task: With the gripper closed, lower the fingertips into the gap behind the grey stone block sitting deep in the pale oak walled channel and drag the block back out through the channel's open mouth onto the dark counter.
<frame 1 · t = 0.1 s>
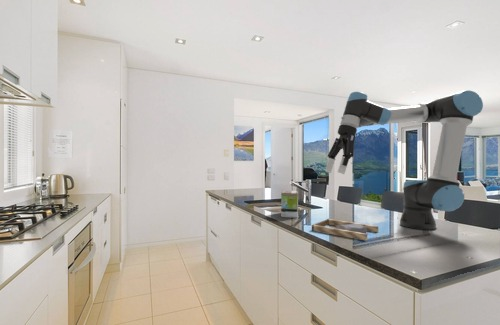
hand: (333, 172, 109), 28 cm above the worktop, tool tilted 20°, fingers open, 13 cm apart
channel: (345, 231, 117), on the worktop
tea box: (289, 215, 154), on the worktop
stone block: (349, 233, 115), on the worktop
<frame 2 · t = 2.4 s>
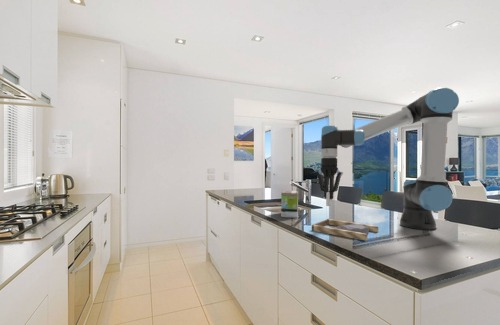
hand: (328, 205, 122), 11 cm above the worktop, tool pointing down, fingers closed
stone block: (351, 233, 114), on the worktop
everything else where it was.
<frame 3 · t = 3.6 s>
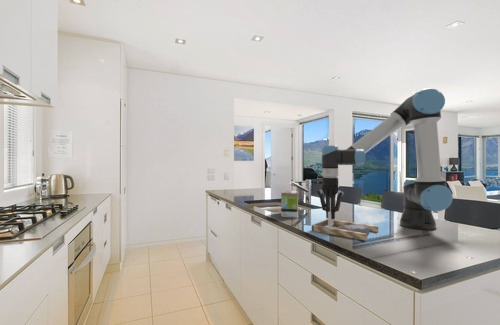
hand: (330, 225, 121), 2 cm above the worktop, tool pointing down, fingers closed
nothing on the worktop moved.
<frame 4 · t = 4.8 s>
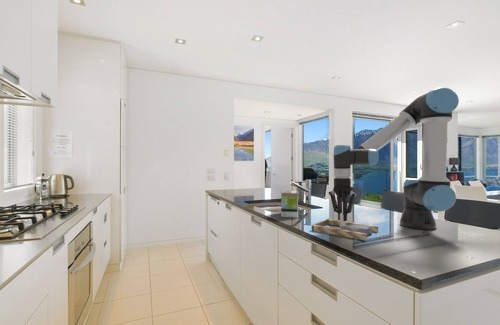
hand: (342, 227, 118), 2 cm above the worktop, tool pointing down, fingers closed
stone block: (355, 233, 113), on the worktop
everything else where it was.
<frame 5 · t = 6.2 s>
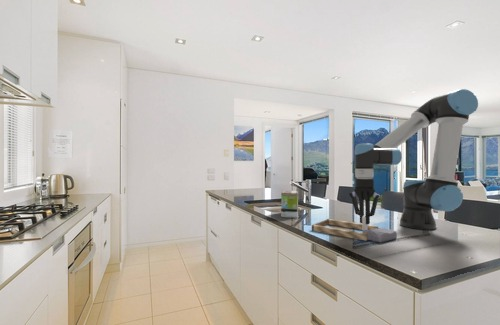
hand: (364, 231, 111), 2 cm above the worktop, tool pointing down, fingers closed
stone block: (378, 238, 106), on the worktop
everything else where it was.
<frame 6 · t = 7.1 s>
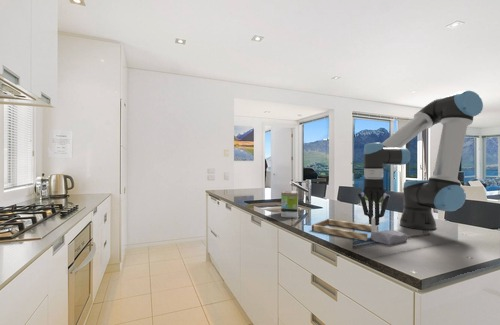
hand: (374, 232, 108), 2 cm above the worktop, tool pointing down, fingers closed
stone block: (387, 241, 103), on the worktop, touching gripper
everything else where it was.
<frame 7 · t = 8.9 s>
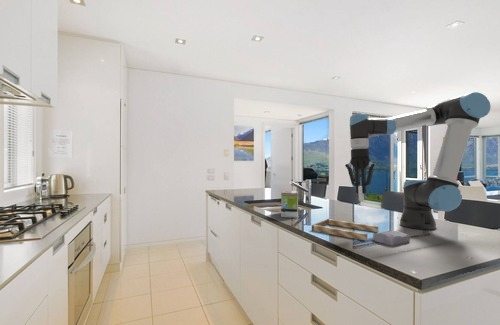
hand: (361, 200, 112), 15 cm above the worktop, tool pointing down, fingers closed
stone block: (390, 241, 102), on the worktop
everything else where it was.
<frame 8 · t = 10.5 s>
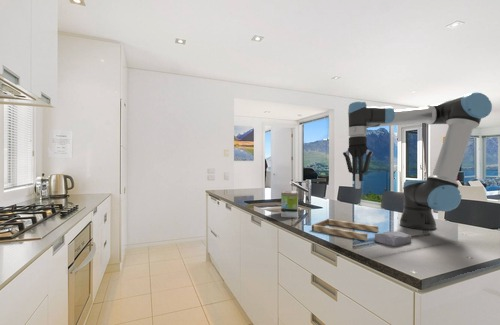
hand: (358, 188, 113), 20 cm above the worktop, tool pointing down, fingers closed
nothing on the worktop moved.
at the end: stone block inside the target area (6.5 cm from its centre), on the worktop; stone block moved 18.3 cm from its start; stone block tilted 0° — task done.
